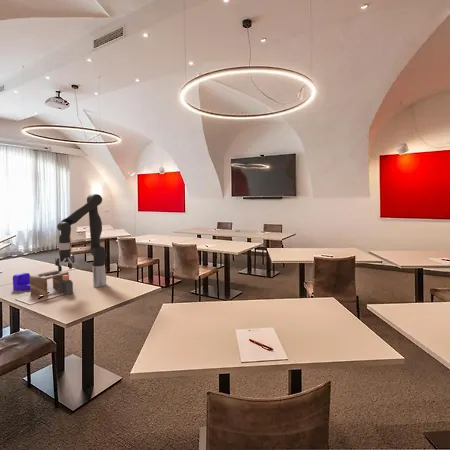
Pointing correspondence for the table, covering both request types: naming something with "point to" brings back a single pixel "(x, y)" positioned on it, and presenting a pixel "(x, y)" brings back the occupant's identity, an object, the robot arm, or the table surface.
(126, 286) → the table surface
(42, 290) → the shelf rack
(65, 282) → the dark grey orange block
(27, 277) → the bracket
